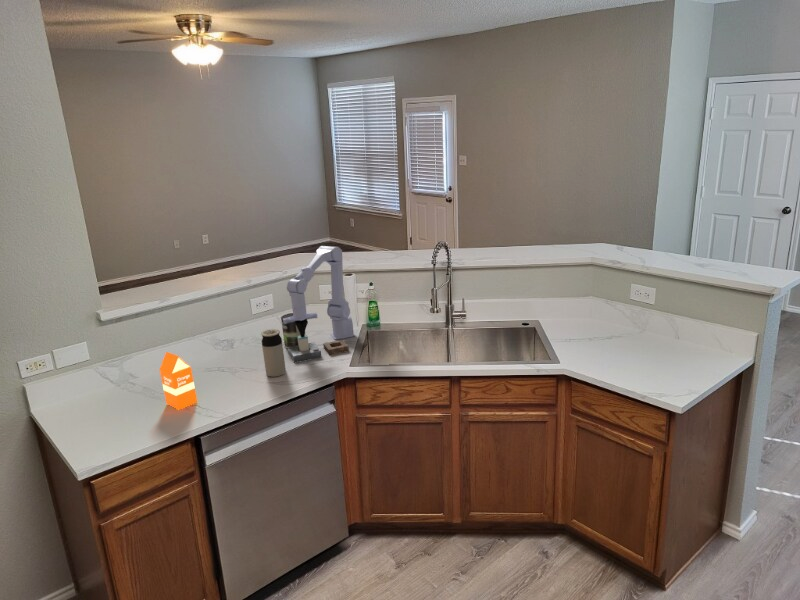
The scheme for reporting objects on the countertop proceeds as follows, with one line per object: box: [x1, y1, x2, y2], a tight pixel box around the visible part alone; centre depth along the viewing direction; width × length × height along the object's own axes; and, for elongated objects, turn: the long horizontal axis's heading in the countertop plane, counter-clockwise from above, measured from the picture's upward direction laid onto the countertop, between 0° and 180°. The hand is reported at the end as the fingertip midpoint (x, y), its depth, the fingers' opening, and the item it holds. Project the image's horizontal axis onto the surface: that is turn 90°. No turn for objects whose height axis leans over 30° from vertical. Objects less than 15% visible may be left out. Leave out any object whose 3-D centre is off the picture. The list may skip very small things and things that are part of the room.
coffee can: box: [280, 312, 300, 349], centre depth 263 cm, size 10×10×14 cm
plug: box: [297, 333, 309, 352], centre depth 251 cm, size 4×4×9 cm
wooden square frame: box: [322, 339, 350, 356], centre depth 256 cm, size 9×9×2 cm
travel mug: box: [260, 328, 287, 378], centre depth 233 cm, size 8×8×18 cm
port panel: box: [287, 342, 322, 364], centre depth 252 cm, size 12×12×3 cm
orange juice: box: [159, 351, 198, 411], centre depth 211 cm, size 8×9×20 cm
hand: (302, 336), depth 249 cm, fingers closed
